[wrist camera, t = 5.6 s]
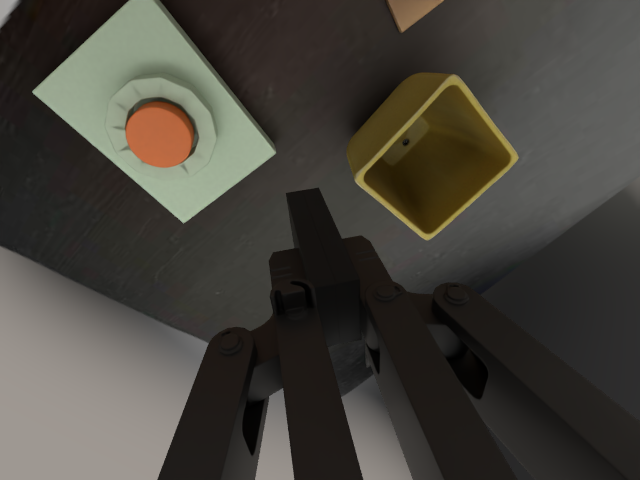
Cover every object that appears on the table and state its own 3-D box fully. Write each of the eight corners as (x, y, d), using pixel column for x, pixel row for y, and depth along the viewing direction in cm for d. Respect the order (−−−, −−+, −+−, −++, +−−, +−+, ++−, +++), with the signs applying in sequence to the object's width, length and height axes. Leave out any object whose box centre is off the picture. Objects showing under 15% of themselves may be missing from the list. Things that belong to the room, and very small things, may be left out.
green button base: (45, 85, 25) (16, 97, 21) (150, -12, 23) (136, -15, 20) (186, 211, 32) (180, 235, 28) (274, 144, 30) (279, 161, 27)
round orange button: (118, 125, 24) (110, 133, 22) (161, 87, 23) (157, 93, 22) (165, 169, 26) (161, 179, 24) (206, 136, 25) (204, 144, 24)
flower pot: (387, 194, 35) (428, 244, 28) (324, 139, 31) (352, 180, 23) (456, 124, 32) (522, 158, 25) (398, 53, 28) (455, 69, 21)
